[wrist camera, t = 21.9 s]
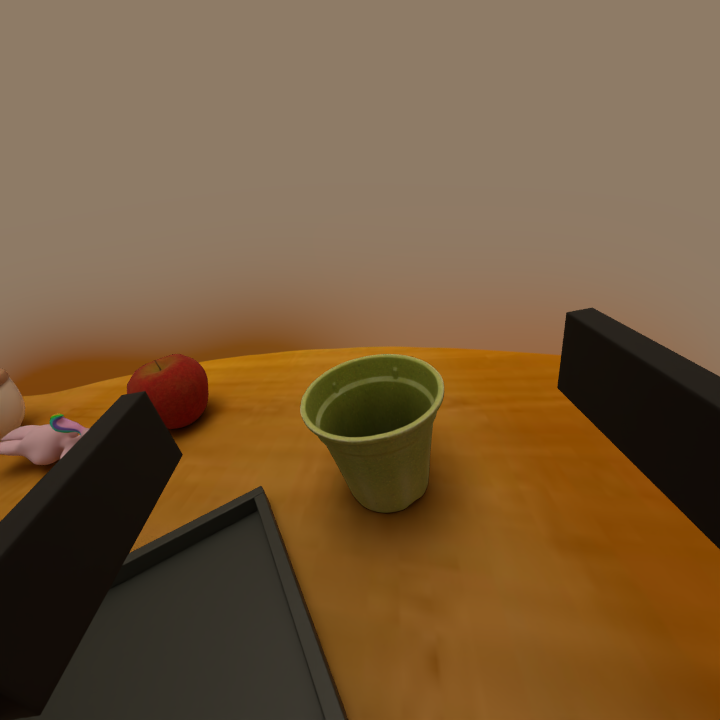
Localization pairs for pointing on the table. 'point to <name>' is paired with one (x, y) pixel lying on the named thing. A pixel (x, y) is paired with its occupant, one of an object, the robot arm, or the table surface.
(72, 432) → the pink toy figurine
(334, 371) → the plant pot
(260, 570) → the drip tray
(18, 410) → the trinket box
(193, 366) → the apple
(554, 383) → the table surface
